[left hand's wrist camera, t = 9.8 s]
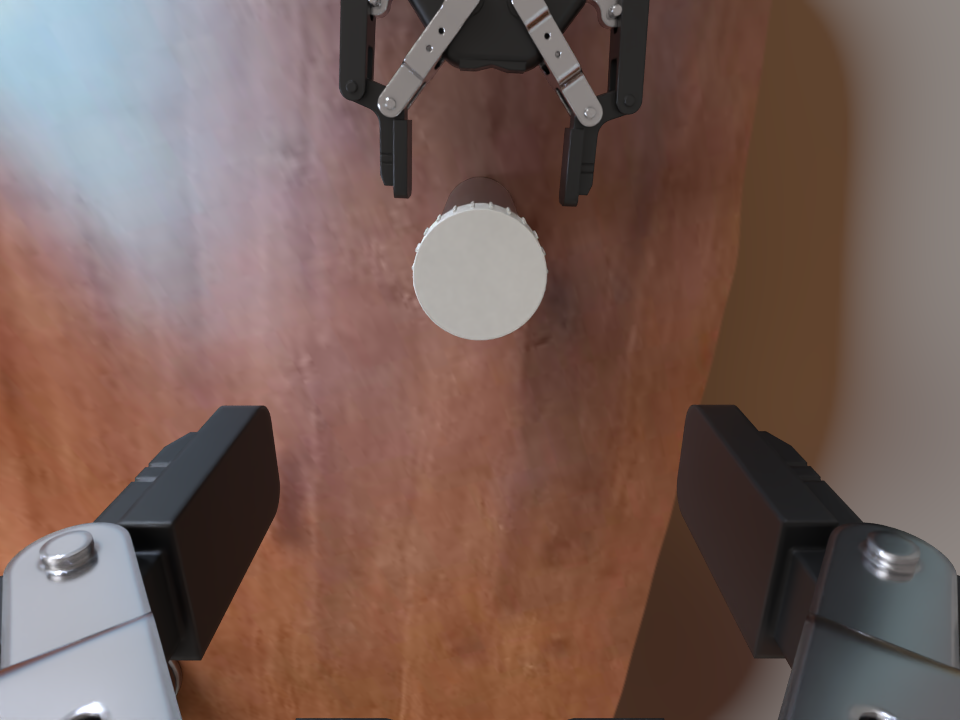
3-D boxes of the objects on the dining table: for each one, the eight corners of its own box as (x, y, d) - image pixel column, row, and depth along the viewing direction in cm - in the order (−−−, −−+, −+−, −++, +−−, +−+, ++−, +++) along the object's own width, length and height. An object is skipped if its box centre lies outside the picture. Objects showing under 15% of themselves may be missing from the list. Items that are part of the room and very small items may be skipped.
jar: (490, 260, 40) (495, 347, 25) (432, 223, 39) (402, 290, 24) (528, 202, 39) (558, 258, 24) (469, 162, 38) (462, 194, 23)
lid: (498, 350, 26) (499, 366, 25) (391, 285, 25) (385, 297, 24) (570, 248, 25) (576, 257, 23) (459, 174, 24) (458, 178, 22)
